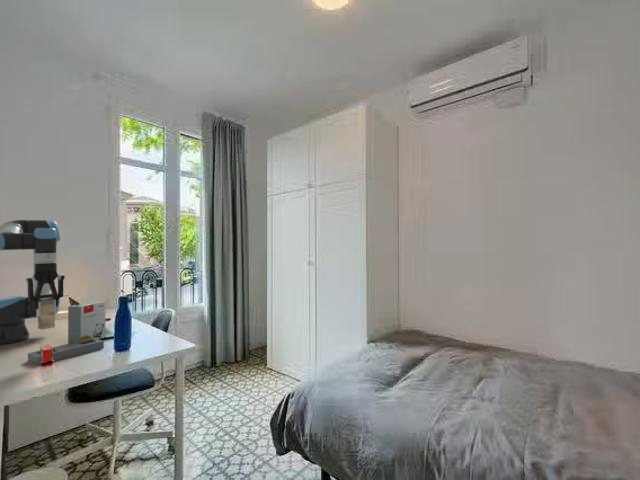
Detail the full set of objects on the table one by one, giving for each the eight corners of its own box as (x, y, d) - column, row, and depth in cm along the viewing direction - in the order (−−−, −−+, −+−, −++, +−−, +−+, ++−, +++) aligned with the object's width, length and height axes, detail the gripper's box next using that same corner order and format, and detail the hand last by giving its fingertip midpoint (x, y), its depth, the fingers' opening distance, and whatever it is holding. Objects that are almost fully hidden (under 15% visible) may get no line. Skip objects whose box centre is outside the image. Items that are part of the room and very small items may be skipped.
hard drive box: (79, 346, 163) (79, 306, 163) (67, 345, 164) (66, 306, 164) (106, 337, 178) (105, 301, 178) (94, 336, 180) (94, 300, 180)
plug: (37, 328, 144) (37, 299, 144) (50, 326, 148) (50, 297, 148) (42, 329, 142) (41, 299, 142) (54, 327, 146) (54, 298, 146)
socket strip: (27, 361, 144) (27, 352, 144) (93, 344, 166) (93, 337, 166) (36, 365, 138) (36, 356, 138) (103, 348, 160) (103, 340, 160)
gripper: (23, 264, 136) (23, 320, 136) (72, 261, 151) (73, 312, 151) (16, 263, 140) (17, 318, 139) (65, 261, 155) (66, 310, 155)
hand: (46, 314), depth 145 cm, fingers closed on plug, 5 cm apart
